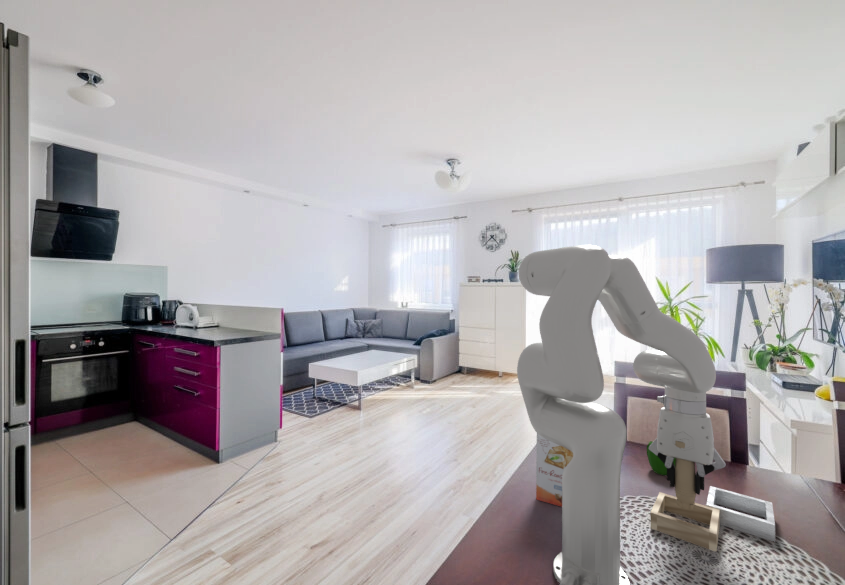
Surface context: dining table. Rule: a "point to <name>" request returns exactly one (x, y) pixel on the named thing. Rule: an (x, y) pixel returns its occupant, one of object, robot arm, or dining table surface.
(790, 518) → the dining table surface
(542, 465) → the cracker box
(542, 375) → the robot arm
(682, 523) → the frame
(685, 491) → the handle
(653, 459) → the bell pepper
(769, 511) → the socket block
